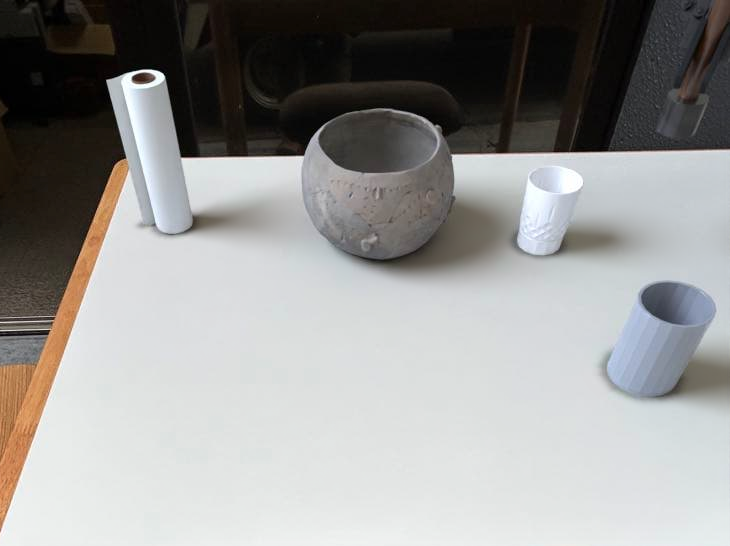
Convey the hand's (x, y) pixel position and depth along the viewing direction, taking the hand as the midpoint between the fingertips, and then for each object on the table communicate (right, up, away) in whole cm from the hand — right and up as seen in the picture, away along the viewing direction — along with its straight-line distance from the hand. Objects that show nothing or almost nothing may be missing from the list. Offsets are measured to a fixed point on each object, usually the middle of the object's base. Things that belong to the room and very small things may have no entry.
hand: (690, 85), depth 80 cm
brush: (+2, -1, +7) cm, 8 cm away
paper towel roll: (-70, -3, +28) cm, 76 cm away
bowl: (-37, -7, +26) cm, 45 cm away
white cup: (-11, -9, +23) cm, 27 cm away
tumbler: (-3, -34, +6) cm, 35 cm away
